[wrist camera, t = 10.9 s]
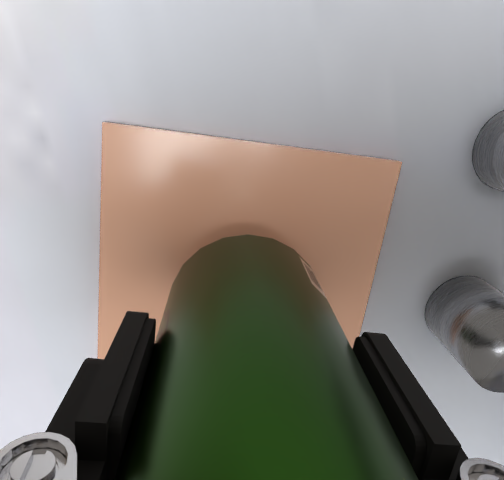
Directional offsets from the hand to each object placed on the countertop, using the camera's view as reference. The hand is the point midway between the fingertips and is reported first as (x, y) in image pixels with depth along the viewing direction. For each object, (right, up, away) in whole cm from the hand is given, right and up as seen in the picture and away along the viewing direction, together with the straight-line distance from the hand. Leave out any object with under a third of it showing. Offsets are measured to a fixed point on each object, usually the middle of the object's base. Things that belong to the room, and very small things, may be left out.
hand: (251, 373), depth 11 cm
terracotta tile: (-1, +2, +6) cm, 6 cm away
